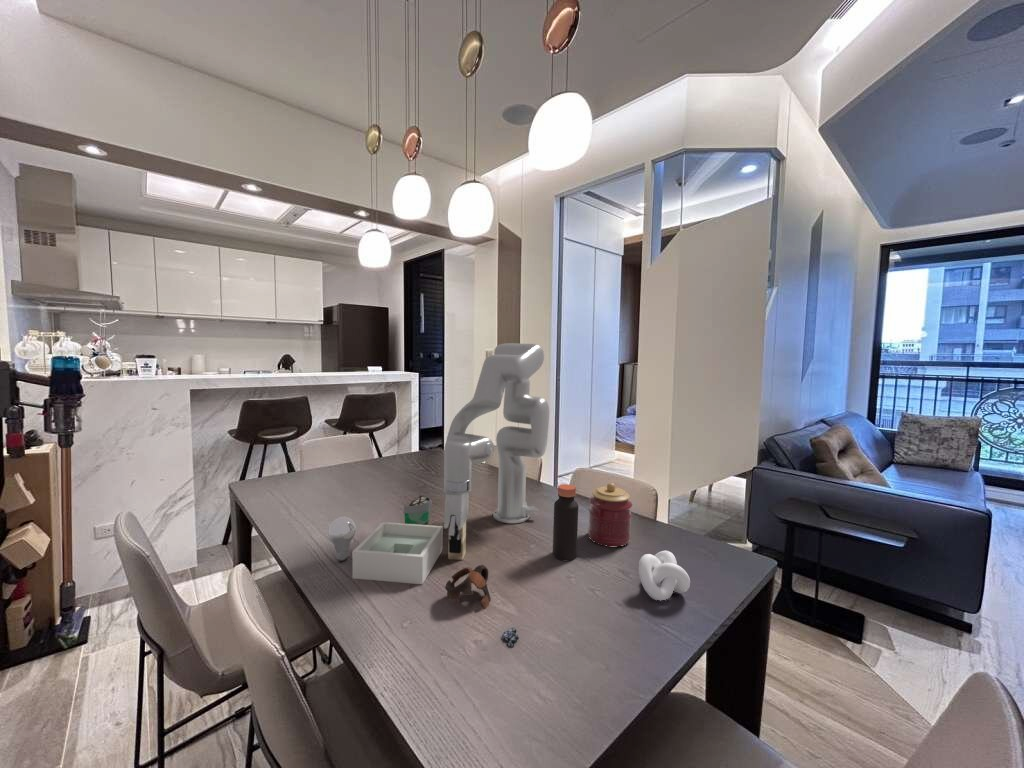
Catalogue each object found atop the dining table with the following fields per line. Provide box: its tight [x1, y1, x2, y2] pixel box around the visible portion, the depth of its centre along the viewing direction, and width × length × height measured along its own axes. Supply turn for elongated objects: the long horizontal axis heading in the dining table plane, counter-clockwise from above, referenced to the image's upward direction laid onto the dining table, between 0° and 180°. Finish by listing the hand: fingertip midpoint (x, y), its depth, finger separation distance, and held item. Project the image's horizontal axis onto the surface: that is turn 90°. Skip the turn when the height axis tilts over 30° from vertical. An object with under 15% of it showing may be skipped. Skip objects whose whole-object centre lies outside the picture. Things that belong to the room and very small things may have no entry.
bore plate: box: [369, 534, 432, 555], centre depth 112 cm, size 16×16×3 cm
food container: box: [403, 493, 433, 525], centre depth 132 cm, size 12×6×10 cm, turn 168°
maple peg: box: [447, 520, 467, 561], centre depth 116 cm, size 4×4×10 cm
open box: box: [351, 521, 444, 585], centre depth 112 cm, size 18×18×7 cm
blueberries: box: [501, 627, 520, 648], centre depth 84 cm, size 7×8×2 cm
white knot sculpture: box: [638, 550, 691, 602], centre depth 102 cm, size 11×12×9 cm
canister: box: [587, 482, 633, 546], centre depth 129 cm, size 13×13×18 cm
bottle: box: [552, 483, 579, 561], centre depth 118 cm, size 7×7×20 cm
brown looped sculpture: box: [444, 564, 491, 610], centre depth 97 cm, size 12×10×8 cm
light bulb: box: [327, 516, 357, 562], centre depth 113 cm, size 7×7×12 cm
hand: (457, 547), depth 117 cm, fingers closed on maple peg, 4 cm apart
